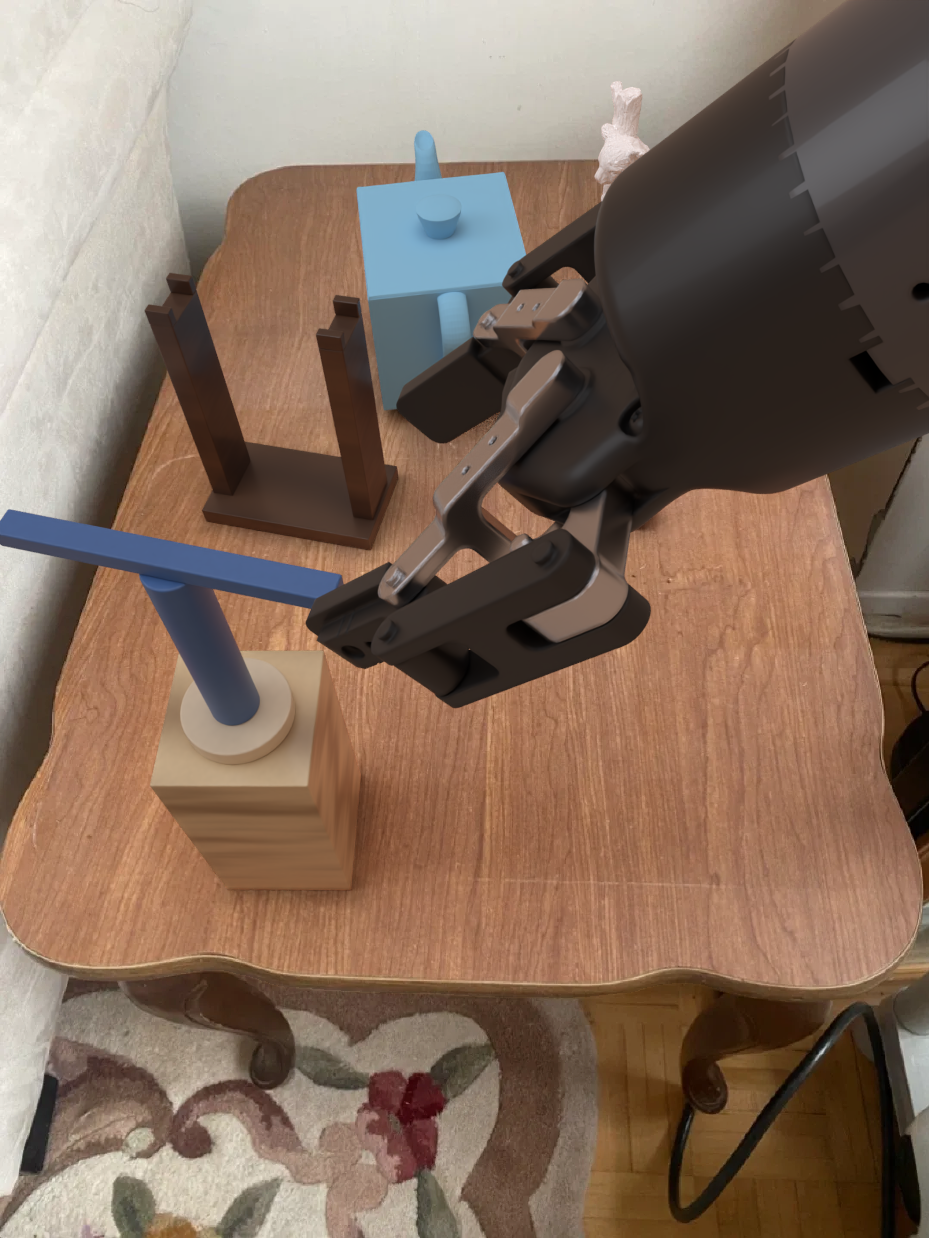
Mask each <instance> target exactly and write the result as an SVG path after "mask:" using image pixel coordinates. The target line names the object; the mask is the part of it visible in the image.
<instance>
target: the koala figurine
mask: <svg viewBox="0 0 929 1238" xmlns="http://www.w3.org/2000/svg"><path fill="white" fill-rule="evenodd" d="M609 87H610V91H611V100H612V105H613V108H614V111H613V115H612V119H611V120H612V121H611V123H610V122H606V123H604V124H603V125H601V129H600V130H601V131H600V132H601V138H602V139H603V141H604V144H603V146H602V148H601V150H600V152H599V154H598V157H597V160H598V163H599V164H598V165H599V166H598V168H597V170H596V172H595V174H594V179H595V181H596V182H597V183H598V184H599V185H603V186H602V188H603V189H602V194H601V196H600V202H601V201H603V198H604V196H605V194H606V192H607V190H608V188H609V187H610V185H611V184H612V182H613V181H614V180H615V178H616V177H617V176H618V175H619V174H620V173H621V172H622V171H623V170H624V169H626V168H627V167H628V166H629V165H631V164H632V163H633V162H635V161H636V160H637V159H639V158H640V157H641V156H643V155H644V154H645V153H647V152H648V151H649V150H650V149H651V148H650V147H649V145H647V144H645V143H644V142H643V141H642V140H641V139H640V137H639V136H638V132H639V123H640V122H639V121H640V114H641V110H642V101H643V93H642V90H641V88H640V87H635V86H629V87H626V88H624V87H623V82H622V81H620V80H615V81H613V82H611V84H610V85H609Z"/></svg>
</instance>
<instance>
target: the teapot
mask: <svg viewBox="0 0 929 1238" xmlns="http://www.w3.org/2000/svg"><path fill="white" fill-rule="evenodd" d="M436 147H437V146H436V142H435V139H434V137H433V135H432V134H431V132H430V131H428V130H425V129H421V130H419V131H417V132H416V134H415V136H414V140H413V148H414V163H415V164H414V165H415V166H414V167H415V169H414V180H412V181H403V182H395V183H394V182H393V183H386V184H376V185H367V186H357V187H356V199H357V200H356V201H357V208H358V209H357V211H358V218H359V227H360V228H359V229H360V237H361V238H360V239H361V250H362V257H363V258H362V259H363V266H364V267H363V268H364V276H365V285H366V286H365V287H366V295H367V305H368V311H369V318H370V326H371V332H372V339H373V346H374V347H373V348H374V353H375V354H374V355H375V359H376V360H375V361H376V367H377V368H376V369H377V374H378V380H379V387H380V388H379V389H380V394H381V402H382V409H383V411H393V410H397V408H396V403H397V401H398V398H399V396H400V393H401V391H402V389H403V386H404V385H405V384H407V383H408V382H409V381H411V380H412V379H414V378H415V377H416V376H418V375H419V374H421V373H422V372H424V371H425V370H426V369H428V368H429V367H431V366H432V365H433V364H435V363H436V362H438V361H439V360H441V359H442V358H443V357H445V356H446V355H448V354H449V353H450V352H452V351H453V350H455V349H456V348H458V347H459V346H460V345H462V344H463V343H465V342H466V341H467V340H469V339H470V338H472V337H474V336H473V331H474V329H475V327H476V325H477V323H478V321H479V319H480V317H481V316H482V315H483V314H484V313H485V312H486V311H488V310H490V309H491V308H492V307H494V306H495V305H498V304H507V303H508V302H509V300H510V298H511V297H512V296H511V295H510V294H509V293H508V292H507V291H506V290H505V289H504V288H503V286H502V282H503V280H504V278H505V276H506V274H507V272H508V270H509V268H510V267H511V266H512V265H513V264H514V263H515V262H516V261H519V260H520V259H521V258H523V257H524V256H525V255H527V252H526V249H525V248H526V247H525V245H524V241H523V237H522V234H521V230H520V226H519V221H518V217H517V214H516V210H515V206H514V202H513V198H512V195H511V190H510V188H509V184H508V180H507V176H506V173H505V172H504V171H499V172H491V173H483V174H482V173H481V174H472V175H461V176H451V177H443V176H442V171H441V168H440V164H439V159H438V154H437V148H436ZM474 338H475V337H474ZM475 339H476V338H475Z"/></svg>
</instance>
